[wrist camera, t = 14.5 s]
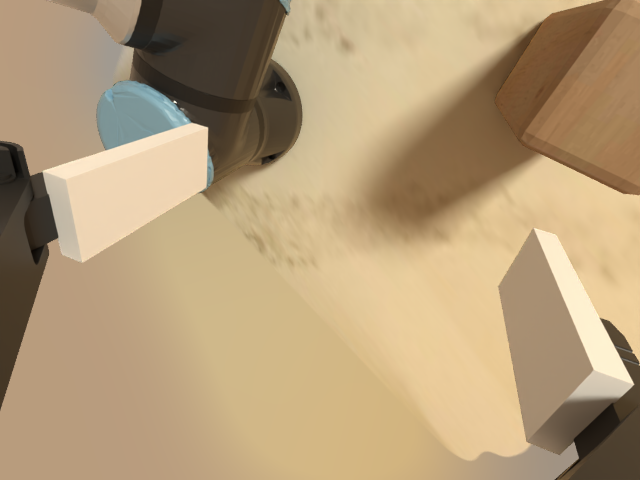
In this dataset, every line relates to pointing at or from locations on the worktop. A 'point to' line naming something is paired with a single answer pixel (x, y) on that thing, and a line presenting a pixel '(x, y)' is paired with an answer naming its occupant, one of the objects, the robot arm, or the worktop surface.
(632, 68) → the wooden block
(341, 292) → the worktop surface
